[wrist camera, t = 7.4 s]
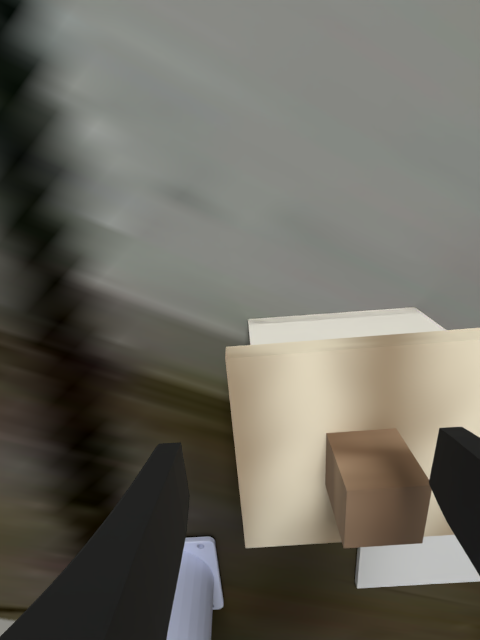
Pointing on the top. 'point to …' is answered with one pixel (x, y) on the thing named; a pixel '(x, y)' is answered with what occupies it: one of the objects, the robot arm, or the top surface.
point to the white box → (339, 325)
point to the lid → (348, 434)
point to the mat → (414, 564)
